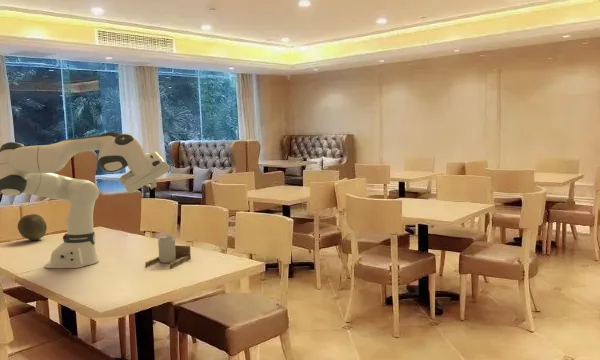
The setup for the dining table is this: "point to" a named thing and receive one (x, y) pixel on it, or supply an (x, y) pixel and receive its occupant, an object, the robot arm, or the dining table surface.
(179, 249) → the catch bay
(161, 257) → the can
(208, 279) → the dining table surface
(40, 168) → the robot arm
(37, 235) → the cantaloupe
